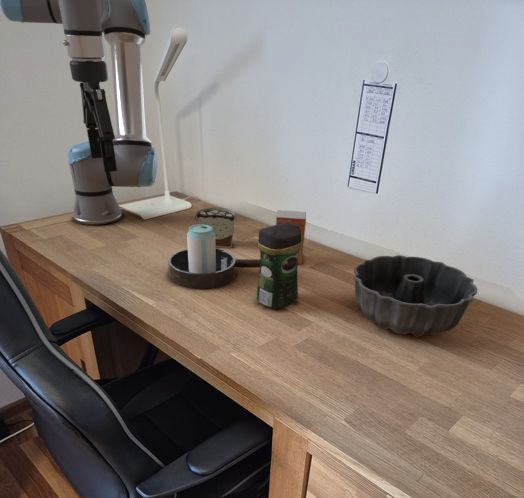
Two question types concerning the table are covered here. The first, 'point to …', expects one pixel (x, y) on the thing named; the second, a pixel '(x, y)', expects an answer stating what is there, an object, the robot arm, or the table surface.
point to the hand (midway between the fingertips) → (103, 164)
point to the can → (201, 249)
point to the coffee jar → (278, 265)
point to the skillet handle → (247, 263)
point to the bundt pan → (412, 294)
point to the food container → (218, 224)
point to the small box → (296, 219)
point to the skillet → (201, 280)
